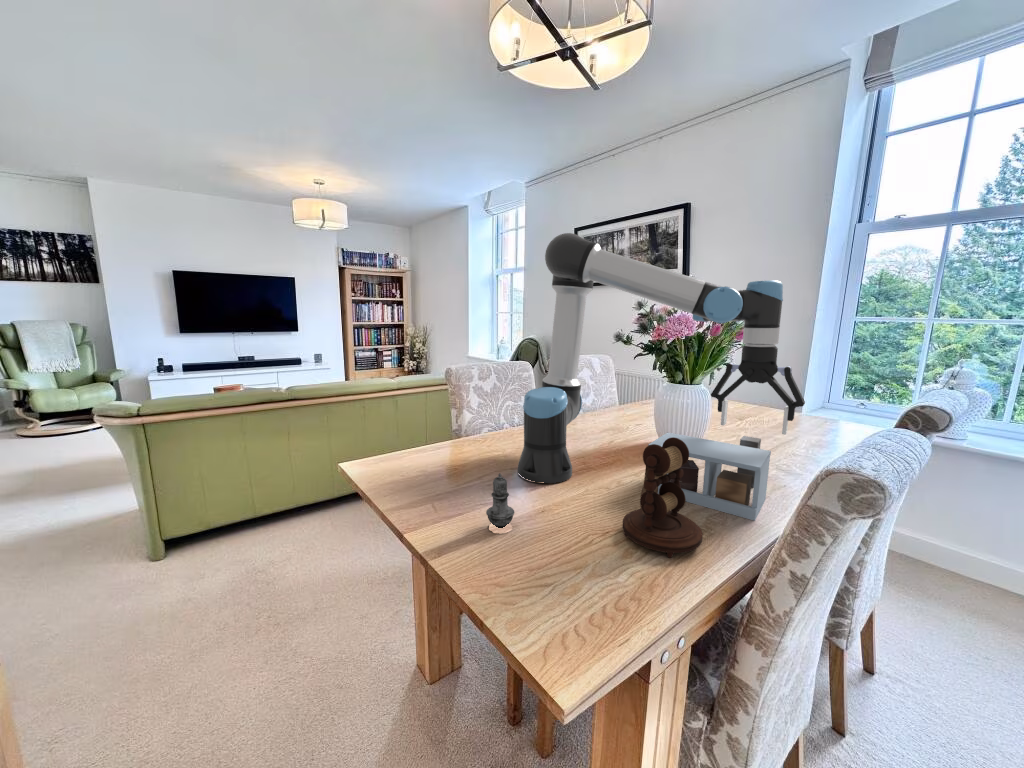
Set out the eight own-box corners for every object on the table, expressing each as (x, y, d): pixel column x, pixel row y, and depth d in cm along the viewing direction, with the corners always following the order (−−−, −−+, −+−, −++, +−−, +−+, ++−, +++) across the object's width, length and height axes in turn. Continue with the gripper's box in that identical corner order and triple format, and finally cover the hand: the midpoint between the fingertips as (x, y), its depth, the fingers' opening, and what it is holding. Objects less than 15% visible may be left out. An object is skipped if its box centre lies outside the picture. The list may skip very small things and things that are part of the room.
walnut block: (714, 505, 94) (718, 456, 92) (735, 477, 110) (739, 435, 107) (743, 513, 90) (748, 462, 88) (760, 483, 106) (765, 439, 104)
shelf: (645, 490, 102) (648, 444, 100) (665, 474, 112) (667, 432, 110) (754, 520, 87) (760, 467, 85) (765, 498, 97) (771, 450, 95)
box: (697, 497, 98) (699, 468, 97) (670, 495, 99) (672, 466, 98) (691, 486, 104) (693, 459, 103) (666, 485, 105) (668, 458, 104)
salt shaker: (504, 538, 81) (504, 481, 79) (480, 530, 84) (479, 475, 82) (519, 525, 86) (519, 471, 84) (496, 518, 89) (496, 465, 87)
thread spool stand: (649, 512, 91) (654, 426, 87) (715, 541, 79) (724, 442, 76) (607, 535, 82) (610, 439, 78) (675, 570, 70) (683, 460, 67)
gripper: (824, 346, 95) (814, 433, 98) (709, 342, 111) (704, 418, 114) (822, 348, 89) (811, 441, 93) (701, 344, 105) (696, 423, 109)
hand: (752, 428), depth 104 cm, fingers open, 13 cm apart
